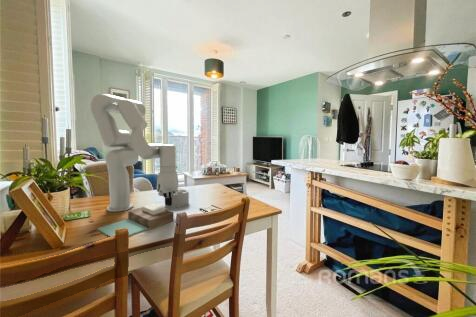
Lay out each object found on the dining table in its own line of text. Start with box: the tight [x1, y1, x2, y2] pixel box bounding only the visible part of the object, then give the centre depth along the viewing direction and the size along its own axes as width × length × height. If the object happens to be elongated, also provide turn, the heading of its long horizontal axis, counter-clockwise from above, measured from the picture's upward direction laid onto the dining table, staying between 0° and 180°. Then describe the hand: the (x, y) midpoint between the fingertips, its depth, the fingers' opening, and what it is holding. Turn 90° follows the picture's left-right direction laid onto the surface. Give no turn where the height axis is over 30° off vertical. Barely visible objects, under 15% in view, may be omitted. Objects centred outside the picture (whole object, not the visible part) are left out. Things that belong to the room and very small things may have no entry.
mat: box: [97, 218, 149, 237], centre depth 91 cm, size 16×13×1 cm
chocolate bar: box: [199, 204, 222, 213], centre depth 114 cm, size 9×1×18 cm
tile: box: [141, 202, 166, 215], centre depth 102 cm, size 9×6×2 cm, turn 54°
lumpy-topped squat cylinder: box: [164, 187, 190, 208], centre depth 125 cm, size 10×13×9 cm
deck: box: [127, 206, 175, 230], centre depth 101 cm, size 18×12×4 cm, turn 54°
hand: (168, 204), depth 109 cm, fingers closed
